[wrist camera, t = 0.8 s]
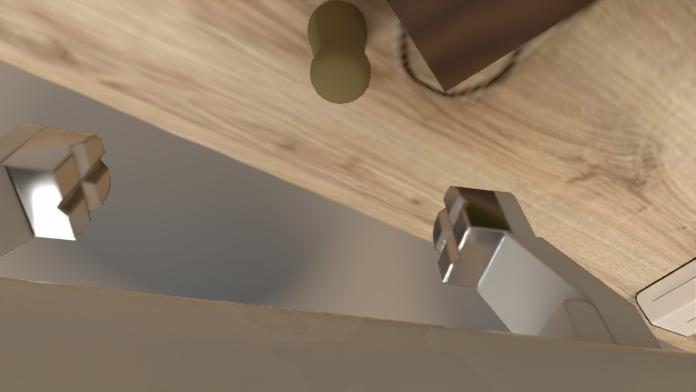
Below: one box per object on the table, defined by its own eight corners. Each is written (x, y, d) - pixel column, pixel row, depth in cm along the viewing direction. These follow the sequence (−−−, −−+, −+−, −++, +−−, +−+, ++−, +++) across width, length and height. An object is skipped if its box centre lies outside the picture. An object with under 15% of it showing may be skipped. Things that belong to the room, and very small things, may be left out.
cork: (377, 39, 43) (391, 92, 35) (329, 70, 45) (331, 126, 37) (346, -13, 39) (353, 32, 31) (295, 23, 41) (289, 73, 33)
